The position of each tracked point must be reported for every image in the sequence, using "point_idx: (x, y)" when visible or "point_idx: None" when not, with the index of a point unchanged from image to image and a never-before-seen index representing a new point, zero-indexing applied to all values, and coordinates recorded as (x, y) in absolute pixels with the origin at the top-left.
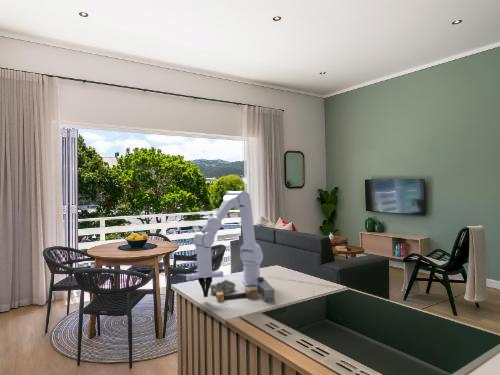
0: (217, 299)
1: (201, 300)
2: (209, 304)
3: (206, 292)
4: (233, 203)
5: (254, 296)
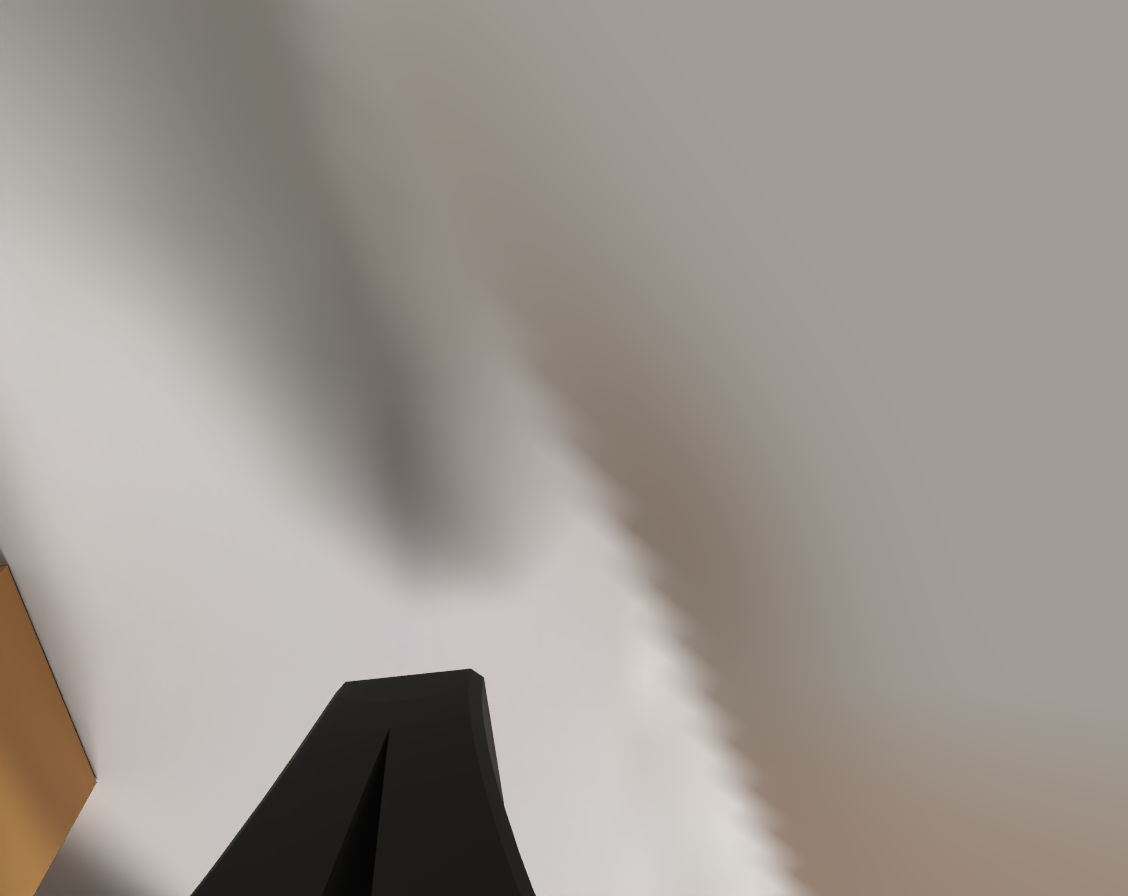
0: (16, 651)
1: (584, 715)
2: (280, 317)
3: (334, 805)
4: None
5: None
